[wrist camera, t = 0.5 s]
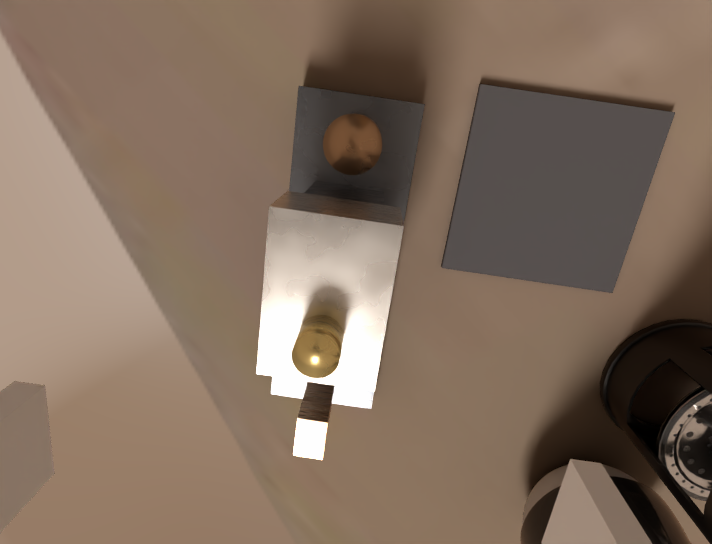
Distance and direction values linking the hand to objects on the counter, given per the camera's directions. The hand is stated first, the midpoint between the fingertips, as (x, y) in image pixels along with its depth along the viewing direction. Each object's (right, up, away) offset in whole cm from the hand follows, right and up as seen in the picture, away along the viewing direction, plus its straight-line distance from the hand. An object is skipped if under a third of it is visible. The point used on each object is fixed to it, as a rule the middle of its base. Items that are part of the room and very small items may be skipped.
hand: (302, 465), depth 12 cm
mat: (+13, +10, +16) cm, 23 cm away
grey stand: (0, +6, +18) cm, 19 cm away
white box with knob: (0, +5, +12) cm, 13 cm away
